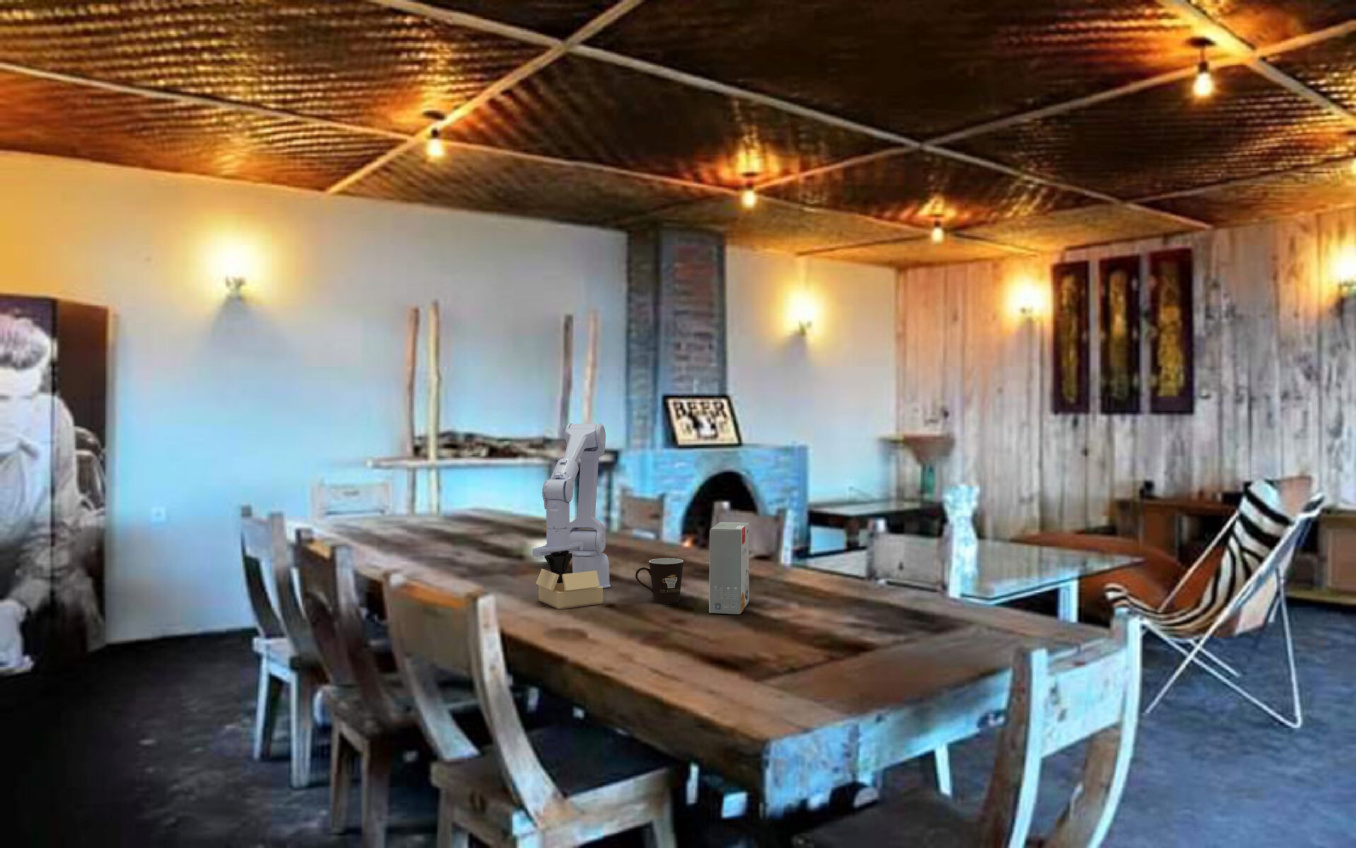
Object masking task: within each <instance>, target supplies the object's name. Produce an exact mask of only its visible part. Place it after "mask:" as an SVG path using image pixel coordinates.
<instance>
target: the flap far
mask: <svg viewBox="0 0 1356 848" xmlns="http://www.w3.org/2000/svg"><path fill="white" fill-rule="evenodd" d="M558 577H559V575H558V574H555V573H553V572H551V570H550V571H549V570H546V569H543V568H541V570H540V572H539V575H538V577H537V580H536V581H535V584H536V585H538V586H539V585H540V586H542V587H545V588H547V589H550V590H552V591H553V590H554V587H555V585H556V582H557V580H558Z"/></svg>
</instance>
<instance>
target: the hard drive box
mask: <svg viewBox="0 0 1356 848" xmlns="http://www.w3.org/2000/svg"><path fill="white" fill-rule="evenodd" d="M749 542H750V523H749V522H743V521H742V522H740V521H739V522H736V521H735V522H733V521H720V522H718V523H717V524H716V525H714V526H713V527H711V528H710V529H709V578H708V580H709V581H708V583H709V593H708V595H709V596H708V598H709V599H708V607H709V609H708V612H709V614H727V615H741V614H742V612H744V609H745V608H746V607H747V605H748V604H749V601H750V561H749V559H750V557H749V556H750V549H749V547H750V543H749Z"/></svg>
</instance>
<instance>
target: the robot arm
mask: <svg viewBox="0 0 1356 848" xmlns="http://www.w3.org/2000/svg"><path fill="white" fill-rule="evenodd" d="M606 438H607V435H606V429H605V426H604V425H603V424H602V423H601V422H599V423H571V422H569V423H568V424H567V426H566V427H565V431H564V439H565V442H566V447H565V451H564V455H563V458H560V459H559V460H557V463H556V465H555V467H554V468H553V472H552V474H551V477H550V478H549V479H547V480H546V481H544V483H543V485H542V491H541V495H542V496H541V497H542V500H543V507H544V510H545V512H546V514H545V516H546V519H545V520H546V523H545V524H546V525H545V526H546V544H545V545H543V546H537V547H534V548H532V557H535V558H540V557H543V556H544V559H545V562H546V563H547V564H548V567H549V569H550V572H553V573H555V574H558V575H559V577H558V580H557V582H556V583H563V579H562V575H563V574H567V573H566V572H567V571H568V570H567V569H568V566H569V564H570V562H571V561H572V573H579V572H588V571H597V575H598V579H599V584H600V587H603V589H604V588H611V587H612V586H611V584H610V561H609V557H608V556H607V554H606V553H604V551H605V549H606V543H607V539H606V538H607V537H606V536H607V535H606V527H605V525H604V523H603V522H602V521H600V520H599V519H597V518H596V511H597V510H596V509H597V491H598V476H599V475H598V471H599V461H600V457H602V456H604V455H605V450H606ZM579 460H580V464H579V465H580V466H579V465H578V462H579ZM578 472H579V479H578V480H579V481H578V483H579V484H578V499H577V500H578V501H577V502H578V503H577V517H576V518H575V519H573V520H572V521H571V520H570V519H571V518H570V517H571V515H570V509H571V508H570V503H571V502H572V500H573V498H574V489H575V484H574V482H575V480H576V477H577V475H578ZM570 521H571V522H570Z"/></svg>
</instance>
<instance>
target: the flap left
mask: <svg viewBox="0 0 1356 848" xmlns="http://www.w3.org/2000/svg"><path fill="white" fill-rule="evenodd" d="M562 579H563V584H564V589H565V591H571V590H579V589H588V588H596V587H600V584H599V579H598V575H597V571H588V572H579V573H573V572H572V573H565V574H563V575H562Z"/></svg>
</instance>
